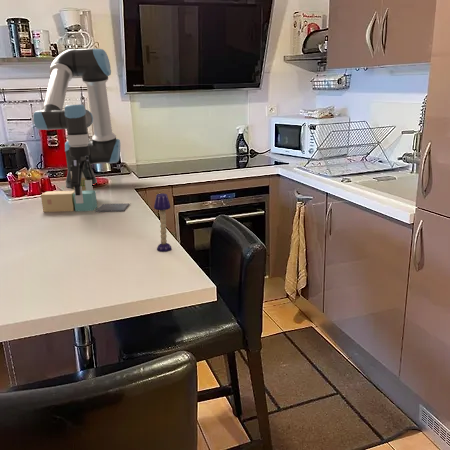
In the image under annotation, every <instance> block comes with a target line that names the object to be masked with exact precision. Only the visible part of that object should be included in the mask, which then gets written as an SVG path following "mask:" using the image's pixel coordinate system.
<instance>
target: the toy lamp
mask: <svg viewBox="0 0 450 450" xmlns="http://www.w3.org/2000/svg"><path fill="white" fill-rule="evenodd" d="M153 208H154V210H158V211H159V217H160V220H159V222H160V243H159V244H158V245H157V247H156V250H157V251H158V252H160V253H162V252H163V253H166V252H170V251H172V250H173V249H172V245H171V244H169V243H168V242H167V219H166V218H167V214H166V211H167V210H169V209H171V203H170V200H169V197H168V194H166V193H157V194H156V197H155V200H154V205H153Z"/></svg>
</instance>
